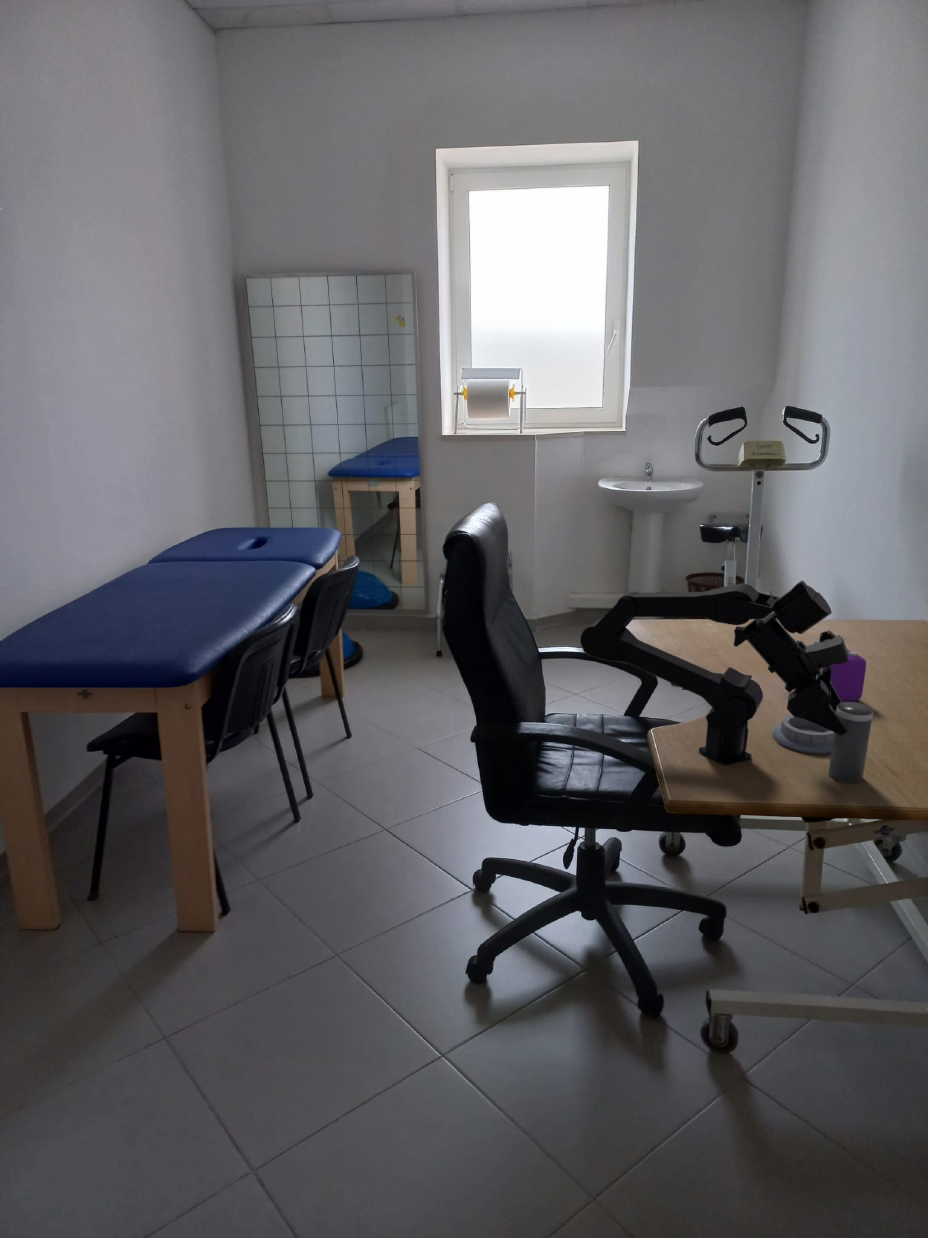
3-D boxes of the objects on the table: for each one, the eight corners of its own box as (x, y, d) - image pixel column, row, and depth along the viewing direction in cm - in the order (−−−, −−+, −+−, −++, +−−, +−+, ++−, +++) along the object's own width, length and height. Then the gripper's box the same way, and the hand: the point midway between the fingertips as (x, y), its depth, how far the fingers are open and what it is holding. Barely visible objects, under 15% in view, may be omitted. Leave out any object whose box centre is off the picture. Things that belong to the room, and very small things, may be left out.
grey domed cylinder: (847, 786, 136) (858, 716, 133) (820, 772, 141) (829, 705, 137) (870, 779, 139) (881, 710, 135) (843, 766, 143) (852, 699, 140)
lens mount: (811, 759, 146) (813, 743, 145) (758, 733, 156) (760, 718, 155) (859, 746, 151) (861, 730, 150) (805, 722, 161) (806, 707, 160)
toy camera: (777, 691, 177) (782, 646, 174) (829, 684, 181) (835, 639, 179) (815, 710, 167) (821, 662, 164) (868, 701, 172) (875, 654, 169)
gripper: (819, 635, 127) (891, 716, 126) (821, 605, 143) (885, 676, 142) (758, 678, 132) (827, 755, 131) (767, 644, 148) (828, 713, 147)
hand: (844, 722), depth 138 cm, fingers open, 9 cm apart
